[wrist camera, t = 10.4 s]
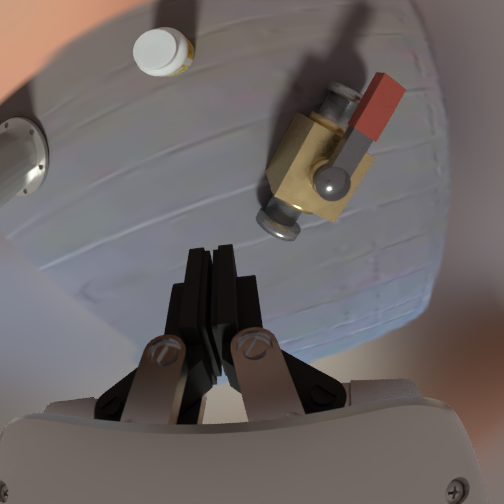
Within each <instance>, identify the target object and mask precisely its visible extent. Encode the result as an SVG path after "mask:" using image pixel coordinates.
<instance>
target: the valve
mask: <svg viewBox="0 0 504 504" xmlns="http://www.w3.org/2000/svg"><path fill="white" fill-rule="evenodd" d="M326 90H327V91H329V93H328V95H327V97H326V99H325V100H324V102H323V104H322V106H321V108H320V109H319V111H318V113H316V112H314V111H312V112H311V114H310V115H309V117H307V116H305V115H303V114H301V113H299V112H297V113H296V114H295V116H294V118H293V120H292V122H291V124H290V126H289V127H288V129H287V131H286V133H285V135H284V137H283V139H282V141H281V142H280V144H279V146H278V148H277V150H276V152H275V154H274V156H273V158H272V160H271V161H270V163H269V165H268V167H267V169H266V171H265V173H266V175H267V178H268V181H269V183H270V186H271V187H270V190H271V192H272V193H273V195H272V197H271V199H270V201H269V202H268V204H267V206H266V207H261V208H260V210H259V212H258V214H257V216H256V221H257V223H258V224H259V225H260V227H261V228H263V229H264V230H265V231H266V232H268V233H269V234H271V235H272V236H274V237H276V238H279V239H281V240H285V241H294V240H295V239H296V238H297V236H298V234H299V233H300V231H301V229H300V226H299V225H298V224H297V222H296V221H297V219H298V218H299V216H300V214H301V213H302V212H303V213H306V214H316V215H318V216H321V217H323V218H325V219H327V220H329V221H332V222H335V221H336V219H337V218H338V216H339V215H340V213H341V212H342V210H343V209H344V207H345V205H346V204H347V202H348V201H349V199H350V198H351V196H352V194H353V193H354V191H355V190H356V188H357V186H358V185H359V183H360V182H361V180H362V178H363V177H364V175H365V174H366V172H367V170H368V169H369V167H370V165H371V164H372V162H373V160H374V159H375V158H374V157H373V156H372V155H370V154H369V153H367V152H366V153H365V155H364V157H363V158H362V160H361V162H360V163H359V165H358V166H357V168H356V170H355V171H354V173H353V175H352V176H351V178H350V180H351V187H350V190H349V192H348V193H347V195H346V196H345V197H343V198H342V199H340V200H338V201H327V200H324V199H323V198H322V197H321V196H320V195H319V194H318V192H317V191H316V189H315V188H314V185H313V175H314V173H315V171H316V170H317V169H318V168H319V167H320V166H321V165H323V164H326V163H327V162H328V160H329V159H330V157H331V155H332V154H333V152H334V150H335V148H336V147H337V145H338V143H339V142H340V140H341V138H342V136H343V135H344V133H345V131H346V130H347V128H348V126H349V125H348V124H347V123H348V121H349V120H350V118H351V116H352V115H353V113H354V111H355V109H356V108H357V106H358V104H359V102H360V100H361V99H362V97H363V95H362V94H360V93H359V92H357V91H355V90H353V89H352V88H350V87H348V86H346V85H344V84H342V83H339V82H337V81H334V80H330V82H329V84H328V85H327V87H326Z"/></svg>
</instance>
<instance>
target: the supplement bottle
mask: <svg viewBox="0 0 504 504" xmlns="http://www.w3.org/2000/svg"><path fill="white" fill-rule="evenodd" d="M133 55H134V59H135V61H136V63H137V65H138V67H139V68H140V69H141V70H142V71H143V72H145V73H147V74H149V75H152V76H175V75H179V74H181V73H183V72H184V71H186V70H187V69H188V68H189V67H190V66H191V64H192V62H193V59H194V48H193V45H192V44H191V42H190V41H189V40H188V39H187V38H186V37H185V36H184V35H183V34H182V33H181V32H179V31H178V30H176V29H173V28H169V27H160V28H156V29H153V30H150V31H147V32H145V33H144V34H142V35H141V36H140V37H139V38H138V39H137V41H136V43H135V45H134V48H133Z"/></svg>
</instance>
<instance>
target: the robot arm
mask: <svg viewBox="0 0 504 504" xmlns="http://www.w3.org/2000/svg"><path fill="white" fill-rule="evenodd" d="M48 160H49V156H48V148H47V144H46V141H45V138H44V136H43V134H42V132H41V130H40V129H39V127H38V126H37V125H36V124H35V123H34V122H32V121H31V120H30V119H27V118H25V117H13V118H11V119H8V120H6V121H5V122H3V123H2V124H1V125H0V208H1V207H2V206H3V205H4V204H5V203H6V202H7V201H9V200H10V199H11V198H12V197H13V196H14V195H15V196H27V195H30V194H31V193H33V192H34V191H35V190H37V189H38V188H39V187H40V185H41V184H42V183H43V181H44V179H45V177H46V174H47V170H48ZM222 366H223V369H224V372H225V375H226V376H227V377H228V380H229V383H230V386H231V387H233V388H234V389H236V390H237V391H238V392H240V393H241V394H242V398H243V402H244V406H245V410H246V414H247V417H248V421H249V422H241V423H226V424H202V421H203V416H204V410H205V405H206V398H207V397H206V396H207V394H206V393H207V392H208V391H209V390H210V389H211V388H212V387H213V385H214V384H217V376H222ZM0 504H489V501H488V497H487V493H486V489H485V484H484V480H483V477H482V473H481V470H480V466H479V463H478V460H477V457H476V454H475V452H474V449H473V446H472V444H471V441H470V439H469V437H468V434H467V432H466V430H465V428H464V426H463V424H462V422H461V421H460V419H459V417H458V416H457V414H456V413H455V412H454V410H453V409H452V408H451V407H449V406H448V405H447V404H446V403H444V402H442V401H439V400H435V399H431V398H424V397H421V393H420V390H419V387H418V386H417V385H416V384H415V382H413V381H411V380H409V379H403V378H399V379H382V380H351V381H350V383H340V382H339V381H337V380H336V379H334V378H332V377H330V376H328V375H327V374H325V373H323V372H321V371H319V370H317V369H315V368H314V367H312V366H310V365H308V364H306V363H304V362H303V361H301V360H299V359H297V358H295V357H294V356H292V355H290V354H288V353H287V352H285V351H283V350H281V349H280V347H279V344H278V341H277V339H276V337H275V336H274V334H273V333H271V332H270V331H269V330H267V329H264V328H263V326H262V318H261V311H260V304H259V297H258V290H257V283H256V276H255V275H252V276H243V277H237V272H236V265H235V258H234V251H233V245H232V244H229V245H220V246H218V250H213V264H212V259H211V254H210V251H205V249H204V248H194V249H190V250H189V255H188V261H187V267H186V274H185V280H184V283H177V284H174V285H173V287H172V292H171V298H170V303H169V309H168V315H167V321H166V327H165V333H164V335H161V336H158V337H156V338H154V339H152V340H151V341H150V342H149V343H148V344H147V345H146V347H145V349H144V351H143V354H142V357H141V360H140V363H139V365H138V367H137V368H136V369H135V370H134V371H132V372H131V373H130V374H128V375H127V376H126V377H125V378H123V379H122V380H121V381H119V382H118V383H117V384H115V385H114V386H113V387H112V388H110V389H109V390H107V391H106V392H105V393H104V394H102V396H100V397H99V399H95V398H94V397H90V398H82V399H75V400H67V401H58V402H53V403H50V404H49V405H48V406H47V407H46V409H45V410H44V413H32V414H27V415H23V416H19V417H17V418H15V419H13V420H11V421H10V422H9V423H7V424H6V426H5V427H4V429H3V431H2V434H1V436H0Z"/></svg>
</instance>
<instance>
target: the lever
mask: <svg viewBox="0 0 504 504" xmlns="http://www.w3.org/2000/svg"><path fill="white" fill-rule="evenodd" d="M405 91H406V89H405V88H403V87H402V86H401V85H400V84H398V83H397V82H396V81H395V80H393V79H392V78H391V77H390V76H388V75H387V74H386V73H379V72H376V74H375V76H374V78H373V79H372V81H371V83H370V85H369V86H368V88H367V90H366V92H365V93H364V95H363V97H362V99H361V100H360V102H359V104H358V106H357V108H356V109H355V111H354V113H353V115H352V116H351V118H350V120H349V121H348V123H347V124H348V125H349V126H348V128H347V130H346V131H345V133H344V135H343V136H342V138H341V140H340V142H339V143H338V145H337V147H336V148H335V150H334V152H333V154H332V155H331V157H330V159H329V160H328V162H327V163H326V164H323V165H321V166H320V167H319V168H318V169H317V170H316V171H315V173H314V175H313V185H314V188H315V189H316V191H317V192H318V194H319V195H320V196H321V197H322V198H323V199H324V200H327V201H338V200H340V199H342V198H343V197H345V196H346V195H347V193H348V192H349V190H350V187H351V180H350V178H351V176H352V175H353V173H354V171H355V170H356V168H357V166H358V165H359V163H360V162H361V160H362V158H363V157H364V155H365V153H366V152H367V150H368V148H369V147H370V145H371V143H372V141H373V140H374V141H375V142H376V141H377V140H378V138H379V136H380V134H381V133H382V131H383V129H384V128H385V126H386V124H387V122H388V121H389V119H390V117H391V115H392V114H393V112H394V110H395V108H396V107H397V105H398V103H399V101H400V100H401V98H402V96H403V94H404V92H405Z"/></svg>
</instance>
